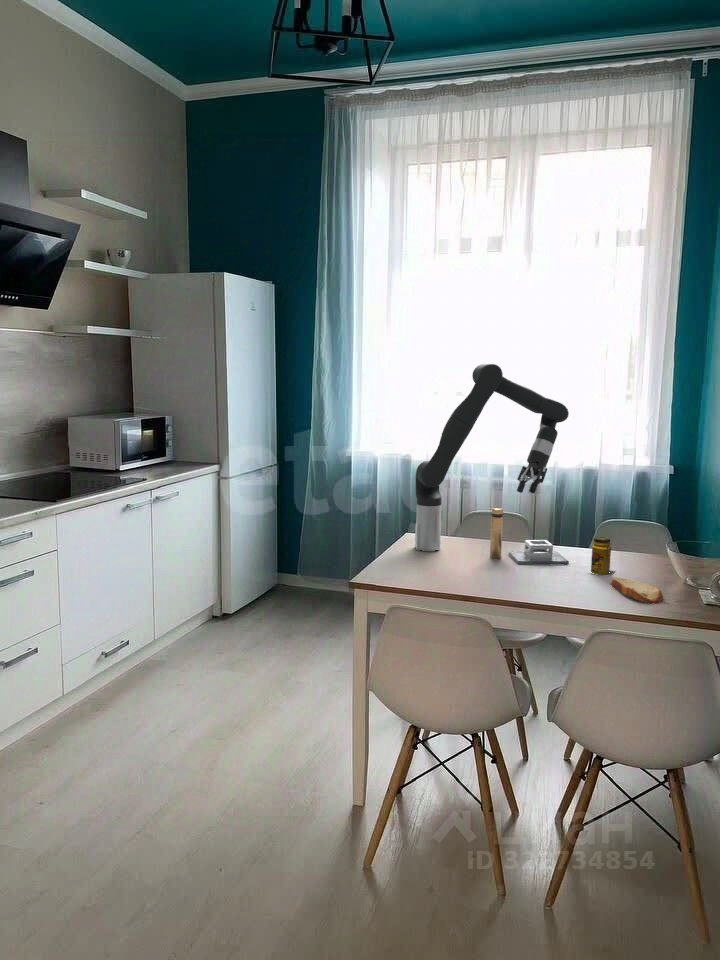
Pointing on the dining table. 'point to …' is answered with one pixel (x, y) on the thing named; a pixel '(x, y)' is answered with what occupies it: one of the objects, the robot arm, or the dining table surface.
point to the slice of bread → (637, 590)
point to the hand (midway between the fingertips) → (525, 492)
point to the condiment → (601, 557)
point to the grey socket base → (538, 554)
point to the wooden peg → (496, 533)
